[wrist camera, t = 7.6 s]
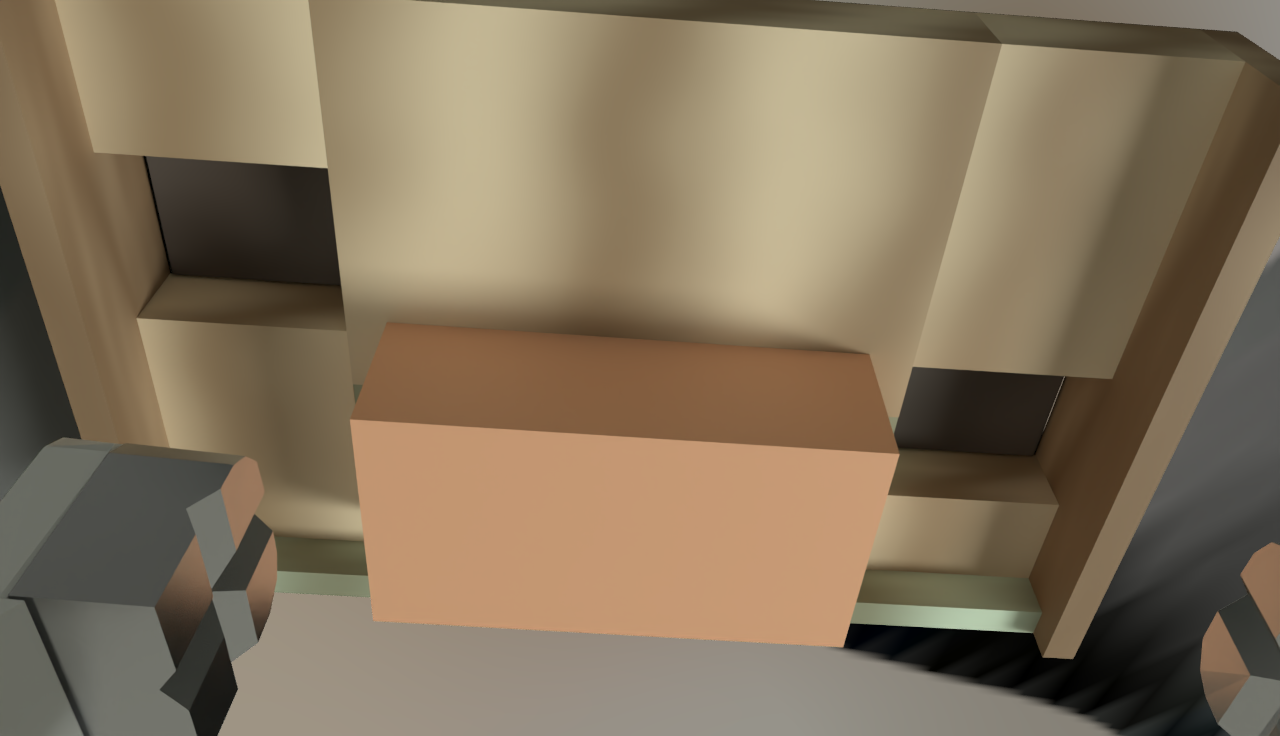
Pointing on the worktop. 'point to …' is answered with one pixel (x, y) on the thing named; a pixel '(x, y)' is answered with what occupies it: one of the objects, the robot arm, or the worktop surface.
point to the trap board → (659, 238)
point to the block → (619, 484)
